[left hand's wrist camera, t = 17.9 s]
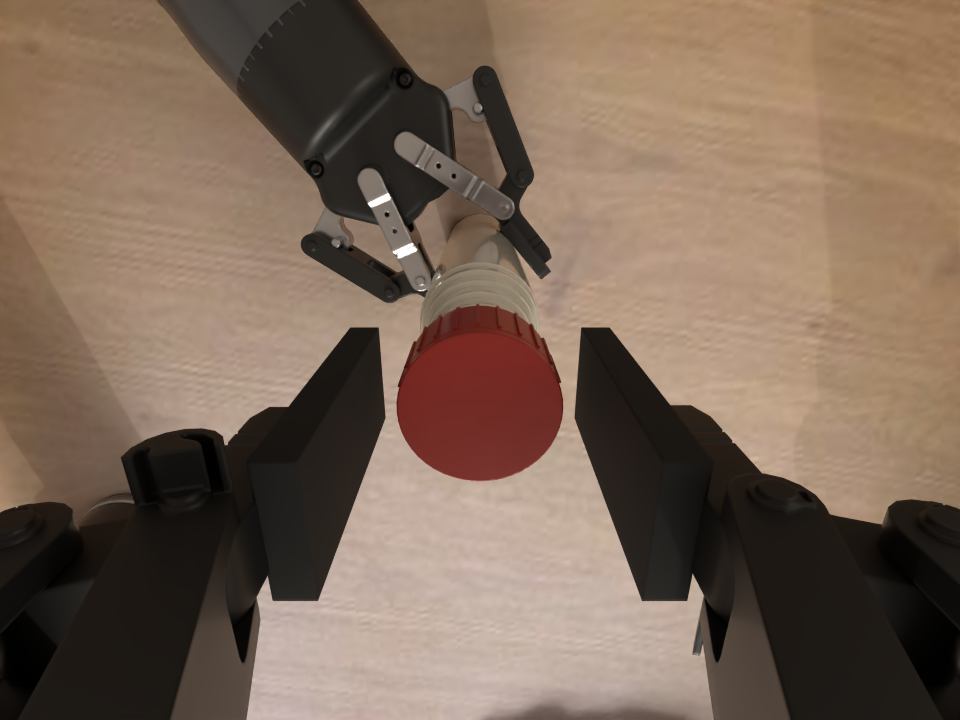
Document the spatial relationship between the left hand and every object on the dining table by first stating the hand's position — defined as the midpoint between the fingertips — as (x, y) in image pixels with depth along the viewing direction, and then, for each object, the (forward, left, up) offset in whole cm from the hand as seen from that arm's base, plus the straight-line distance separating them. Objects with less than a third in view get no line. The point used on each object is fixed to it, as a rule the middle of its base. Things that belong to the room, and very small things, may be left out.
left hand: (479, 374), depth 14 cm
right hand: (-2, +1, -16) cm, 16 cm away
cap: (0, 0, +2) cm, 2 cm away
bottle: (0, 0, -23) cm, 23 cm away
